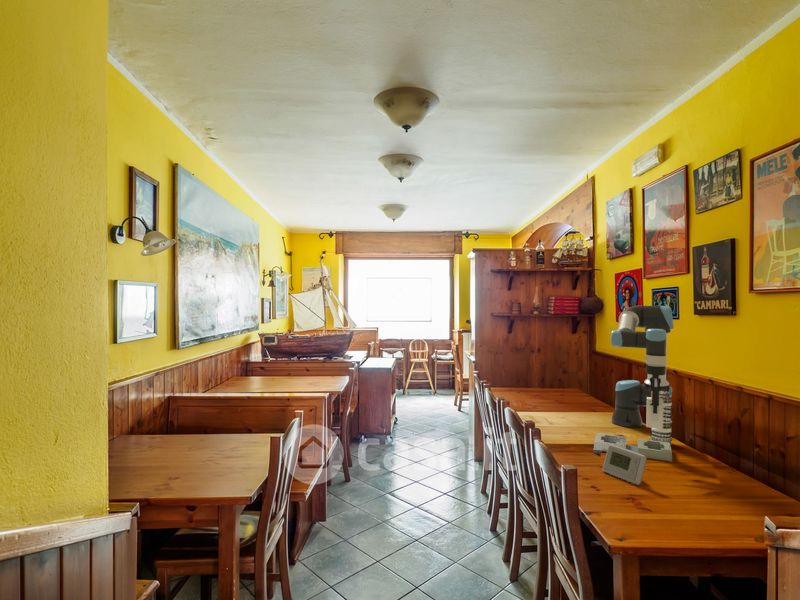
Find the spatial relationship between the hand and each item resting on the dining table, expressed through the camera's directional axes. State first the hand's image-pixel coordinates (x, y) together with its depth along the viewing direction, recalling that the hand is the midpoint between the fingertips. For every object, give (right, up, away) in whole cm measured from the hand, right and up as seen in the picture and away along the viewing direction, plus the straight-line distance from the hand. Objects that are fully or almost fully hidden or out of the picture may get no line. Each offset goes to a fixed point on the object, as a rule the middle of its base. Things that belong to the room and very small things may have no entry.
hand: (654, 419), depth 199 cm
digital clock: (-25, -16, -24) cm, 38 cm away
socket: (-16, -14, +8) cm, 23 cm away
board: (-8, -16, +4) cm, 18 cm away
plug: (0, -3, 0) cm, 3 cm away
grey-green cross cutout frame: (0, -15, 0) cm, 15 cm away
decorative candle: (+11, -16, +15) cm, 25 cm away
